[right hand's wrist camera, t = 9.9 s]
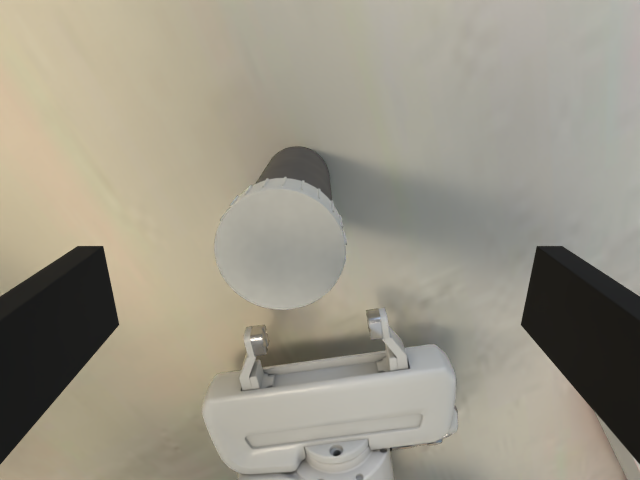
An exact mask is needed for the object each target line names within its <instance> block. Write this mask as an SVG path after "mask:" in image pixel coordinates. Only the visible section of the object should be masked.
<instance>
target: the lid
mask: <svg viewBox="0 0 640 480" xmlns="http://www.w3.org/2000/svg"><path fill="white" fill-rule="evenodd" d="M230 206H231V207H230V208H229V209H228V210H227V211H226V212H225V214H224V215H223V216H222V218H221V219H220V221H221V222H220V224H219V226H218V229H217V232H216V236H215V242H214V251H215V259H216V262H217V266H218V268H219V271H220V273H221V275H222V276H223V278H224V280H225V281H226V283H227V284H228V285H229V286H230V287H231V288H232V289H233V290H234V291H235V292H236V293H237V294H238V295H239V296H241V297H242V298H244V299H245V300H247V301H249V302H251V303H253V304H255V305H258V306H261V307H264V308H269V309H275V310H290V309H296V308H300V307H304V306H307V305H309V304H311V303H313V302H315V301H317V300H319V299H320V298H321V297H323V296H324V295H325V294H326V293H328V292H329V291H330V290H331V288H332V287H333V286H334V285H335V284H336V282H337V280H338V279H339V277H340V275H341V272H342V270H343V267H344V263H345V256H346V246H345V245H347V241H346V236H345V231H343V223H342V217H341V215H340V216H339V214H338V211H337V209H336V208H335V206H334V204H333V201H330V200H329V198H328V197H327V196H326V195H325V194H324V193H322V192H321V189H317V188H316V187H314V186H312V185H310V184H308V183H305V182H304V180H302V181H300V180H295V179H289V178H287V177H284V178H274V179H268V178H267V179H266V180H265V181H262V182H259V183H257V184H255V185H253V186H252V185H250V186H249V187H248V189H246V190H245V191H244V192H243V193H242V194H240V195H239V196H238V195H237V196H236V198H235V199H234V200H233V202H232V203H231V204H230Z"/></svg>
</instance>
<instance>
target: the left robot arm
mask: <svg viewBox="0 0 640 480" xmlns="http://www.w3.org/2000/svg"><path fill="white" fill-rule="evenodd" d="M366 315H367V322H368V328H369V332H370V338H371V340H377V339H382V340H383V342H384V343H385V349H386V350H384V351H377V352H370V353H363V354H355V355H348V356H341V357H333V358H326V359H319V360H311V361H304V362H297V363H290V364H282V365H275V366H268V367H262V365H261V361H260V360H255V359H256V357H257V356H261V355H267V350H268V348H267V347H268V345H269V338H268V334H267V333H266V326H265V325H258V326H251V327H246V330H245V333H244V344H245V347H246V351H247V354H246V357H245V359H244V362H243V366H242V370H238V371H231V372H223V373H218V374H216V375H215V376H214V378H213V379H212V381H211V383H210V384H209V386H208V388H207V391H206V393H205V396H204V399H203V404H202V416H203V419H204V422H205V425H206V428H207V430H208V433H209V435H210V438H211V440H212V442H213V444H214V446H215V448H216V450H217V452H218V454H219V456H220V458H221V459H222V461H223V462H224V463H225V464H226V465H227V466H228V467H229V468H230V469H232V470H233V471H235V472H238V480H394V474H393V466H392V458H391V450H398V449H406V448H412V447H415V446H418V445H419V446H420V445H429V446H430V445H437V444H440V443H442V439H444V438H447V437H449V436H450V435H452V434H453V433H455V432H456V431H457V429H458V413H457V408H456V406H455V399H456V375H455V372H454V369H453V366H452V364H451V362H450V360H449V358H448V356H447V354H446V353H445V352H444V351H443V350H442V349H440V348H439V347H438V346H437V345H435V344H428V345H421V346H413V347H406V348H404V345H403V342H402V339H401V338H400V337H399V336H398V335H397V334H396V333H395V332H394V331H393V330H392V328H391V327H390V326H389V324H388V318H387V314H386V310H385V308H378V309H371V310H366Z"/></svg>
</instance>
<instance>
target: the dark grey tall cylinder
mask: <svg viewBox="0 0 640 480" xmlns="http://www.w3.org/2000/svg"><path fill="white" fill-rule="evenodd" d="M284 177H287V178H289V179H295V180H300V181H302V180H304V182H305V183H308V184H310V185H312V186H314V187H316V188H317V189H321V192H322V193H324V194H325V195H326V196H327V197H328V198H329V200H330V201H332V195H331V186H330V177H329V171H328V168H327V165H326V163H325V162H324V160H323V159H322V158H321V157H320V156H319V155H318V154H317V153H316V152H314V151H312V150H310V149H308V148H304V147H289V148H286V149H284V150H281V151H280V152H278V153H277V154H276V155H275V156H274V157H273V158H272V159H271V161H270V162H269V164H268V165H267V167H266V168H265V170H264V172H263V173H262V175H261V176H260V178H259V179H258V181H257V182H256V184H257V183H259V182H262V181H265V180H266V179H267V178H268V179H274V178H284Z"/></svg>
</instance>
